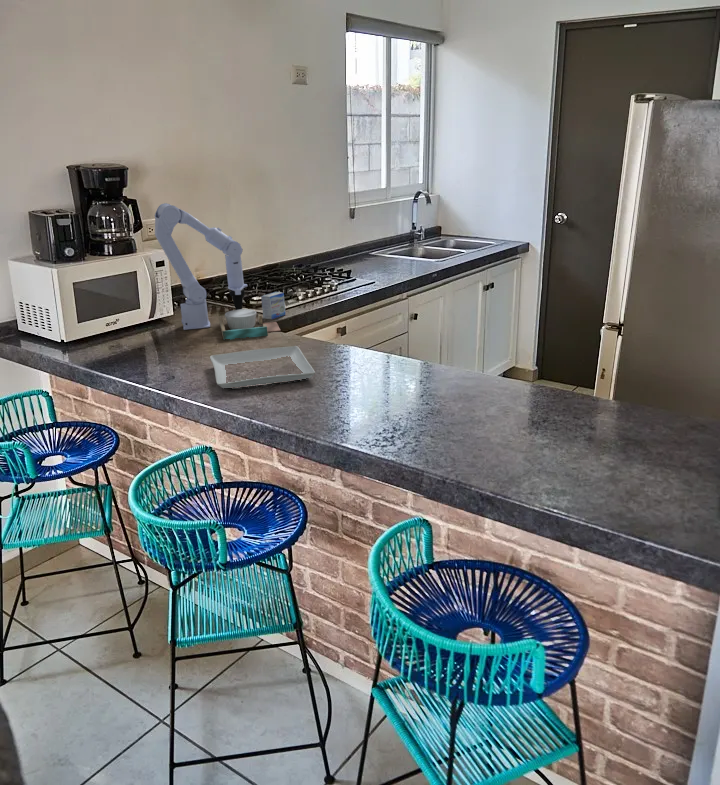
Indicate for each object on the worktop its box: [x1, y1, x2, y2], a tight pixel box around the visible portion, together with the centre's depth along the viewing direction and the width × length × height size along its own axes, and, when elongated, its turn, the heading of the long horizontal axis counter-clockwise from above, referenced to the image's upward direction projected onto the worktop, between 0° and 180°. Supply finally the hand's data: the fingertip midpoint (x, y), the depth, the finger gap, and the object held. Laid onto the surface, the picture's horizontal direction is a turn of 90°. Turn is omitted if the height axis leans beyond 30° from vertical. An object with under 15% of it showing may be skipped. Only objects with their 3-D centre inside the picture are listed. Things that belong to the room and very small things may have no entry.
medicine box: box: [260, 291, 286, 320], centre depth 265 cm, size 8×4×9 cm, turn 143°
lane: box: [219, 313, 282, 341], centre depth 250 cm, size 20×20×3 cm
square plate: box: [209, 345, 316, 389], centre depth 205 cm, size 27×27×4 cm
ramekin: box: [224, 308, 257, 330], centre depth 254 cm, size 11×11×5 cm
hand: (238, 309), depth 263 cm, fingers closed
